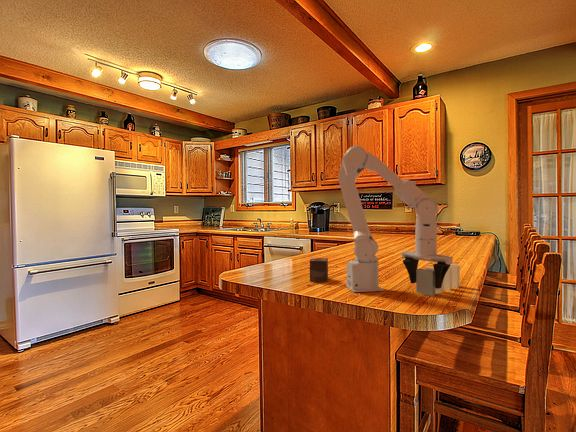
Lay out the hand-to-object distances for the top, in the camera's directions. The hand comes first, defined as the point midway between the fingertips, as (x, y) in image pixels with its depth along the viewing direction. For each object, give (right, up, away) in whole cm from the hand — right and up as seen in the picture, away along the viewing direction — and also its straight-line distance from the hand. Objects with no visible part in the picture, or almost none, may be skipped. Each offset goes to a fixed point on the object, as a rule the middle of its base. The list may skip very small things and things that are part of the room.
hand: (425, 285), depth 92 cm
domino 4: (+12, -2, +9) cm, 15 cm away
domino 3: (+8, -2, +6) cm, 10 cm away
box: (-29, -3, +19) cm, 35 cm away
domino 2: (+4, -2, +3) cm, 6 cm away
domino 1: (0, -3, 0) cm, 3 cm away
